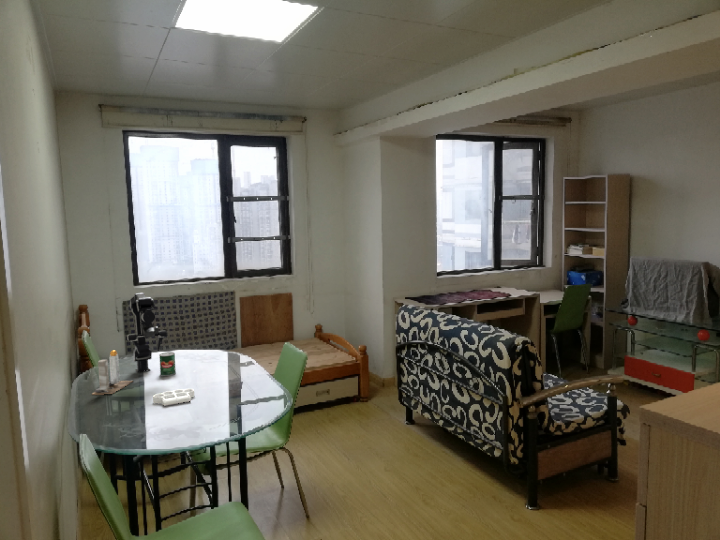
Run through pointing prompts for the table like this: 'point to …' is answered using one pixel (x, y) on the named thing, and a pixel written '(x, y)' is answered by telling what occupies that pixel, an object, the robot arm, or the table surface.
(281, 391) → the table surface
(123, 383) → the bolt board
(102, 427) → the table surface
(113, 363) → the sliding leg
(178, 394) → the white piece
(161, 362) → the canned tomato
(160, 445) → the table surface
